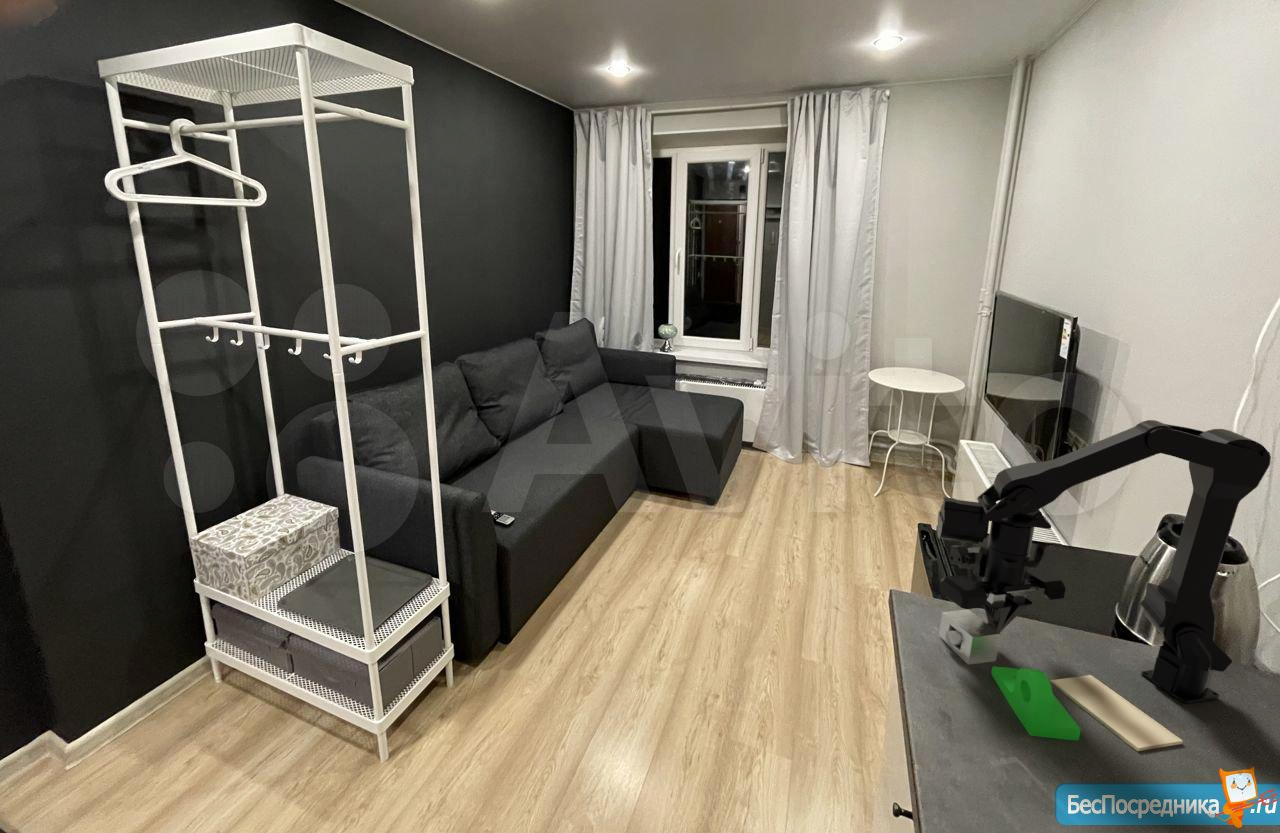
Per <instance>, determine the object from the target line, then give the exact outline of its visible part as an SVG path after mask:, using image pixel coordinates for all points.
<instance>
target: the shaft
mask: <svg viewBox="0 0 1280 833" xmlns="http://www.w3.org/2000/svg"><path fill="white" fill-rule="evenodd" d="M985 622H986V623H987V624H988V625H990V626H991V627H992V628H994V627H993V626H992V625H991V624H990V623H988V621H985ZM962 637H963V635H962V634H961V633H960V632H958V631H957V630H953V631H947V632H946V640H947V642H948V643H949V644H950V645H960V644H961V643H962Z"/></svg>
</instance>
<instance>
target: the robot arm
mask: <svg viewBox="0 0 1280 833" xmlns="http://www.w3.org/2000/svg"><path fill="white" fill-rule="evenodd" d="M1159 454H1162V455H1166V456H1171V457H1175V458H1178V459H1180V460H1181V459H1182V460H1184V461H1188V469H1189V470H1188V471H1189V473H1190V474H1189V475H1190V479H1191V483H1192V493H1191V497H1190V500H1189V505H1188V508H1187V511H1186V515H1185V518H1184V522H1183V525H1182V529H1181V533H1180V536H1179V539H1178V542H1177V547H1176V549H1175V553H1174V557H1173V560H1172V564H1171V567H1170V571H1169V573H1168V576H1167V578H1166V579H1165V580H1164V581H1162V582H1160V584H1155V583H1151V582H1147V583H1146V587H1145V596H1144V598H1143V599H1142V600H1141V602H1139V604H1140V606H1141V607H1142V608H1143V609H1144V611H1143V612H1144V615H1145V616H1146V619H1148V621H1149V623H1150V624H1151V625H1152V626H1153V627H1154V628H1155V631H1156V632H1157V634H1158V635H1159V636H1161V638H1162V639H1163V641H1162V644H1161V645H1160V646H1159V650H1158V653H1157V656H1156V657H1155V662H1154V665H1153V669H1149V670H1143V671H1141V673H1140V674H1141V676H1142V677H1143V678H1145V679H1147V680H1148V681H1149V682H1151V683H1153V684H1154V685H1156V686H1157V687H1159V688H1160V689H1162V690H1164V691H1165V692H1167V693H1168V694H1169V695H1171V696H1172V697H1174V698H1176V699H1177V700H1179V701H1180V702H1182V703H1184V704H1189V703H1190V704H1191V703H1198V702H1203V701H1208V700H1209V701H1211V700H1217V699H1220V693H1218V692H1216V691H1215V690H1213V689H1211V688H1209V686H1210V685H1209V684H1210V682H1211V679H1212V674H1213V672H1214V671H1216V672H1221V673H1223V672H1225V670H1226V669H1227V668H1228V667H1229V666H1230V665H1231V664H1232V663H1233V659H1232V658H1230V656H1229V655H1228V654H1227V653H1226V652H1224V650H1223V649H1222V648H1221V647H1220V646H1219V645H1218V644H1217V643H1216V641H1215V636H1216V635H1215V634H1216V619H1217V618H1216V615H1215V614H1216V613H1215V609H1214V604H1213V599H1212V590H1213V587H1214V585H1215V584H1214V583H1215V580H1216V578H1217V575H1218V574H1217V573H1218V571H1219V568H1220V565H1221V561H1222V559H1223V554H1224V552H1225V550H1226V545H1227V542H1228V539H1229V535H1230V532H1231V529H1232V526H1233V523H1234V519H1235V516H1236V513H1237V511H1238V507H1239V504H1240V502H1241V501H1242V500H1243V499H1244V498H1245V497H1247V496H1248V495H1249V494H1250V493H1252V492H1253V491H1254V490H1255V489H1257V487H1258V486H1259V485H1260V483H1261V481H1262V479H1263V478H1264V476H1265V475H1266V472H1267V471H1268V469H1269V468H1270V466H1271V462H1272V461H1271V459H1272V456H1271V453H1270V452H1269V451H1268V450H1267V448H1266V447H1264V445H1263V444H1261V443H1259V442H1257V441H1255V440H1253V439H1251V438H1248V437H1246V436H1244V435H1242V434H1239V433H1237V432H1235V431H1231V430H1228V429H1223V428H1212V429H1209V430H1205V431H1203V430H1200V429H1195V428H1191V427H1186V426H1180V425H1174V424H1167V423H1164V422H1162V421H1158V420H1155V419H1154V420H1153V419H1148V420H1143V421H1140V422H1139V423H1137V424H1136V425H1134V426H1132V427H1130V428H1127V429H1125V430H1123V431H1121V432H1117V433H1115V434H1113V435H1110V436H1109V437H1106V438H1104V439H1101V440H1099V441H1096V442H1093V443H1090V444H1089V445H1086V446H1083V447H1082V448H1078V449H1076V450H1074V451H1071V452H1069V453H1066V454H1064V455H1061V456H1059V457H1056V458H1054V459H1050V460H1045V461H1039V462H1038V461H1036V462H1027V463H1023V464H1019V465H1015V466H1012V467H1008V468H1004V469H1003V470H1001V471H999V472H998V473H997V474H996V475H995V479H994V481H993V484H992V485H991V486H989V487H988V488H987V489H985V490H984V491H983V492H982V493H981V494H979V495H978V496H977V497H976V499H977V501H968V500H960V499H956V498H953V497H944V498H943V499H942V500H943V501H942V504H941V506H940V510H939V511H938V514H937V523H936V524H937V526H936V528H937V530H936V531H937V538H938V539H941V540H949V541H955V542H962V543H969V544H974V545H975V544H977V545H979V543H983V542H984V540H985V539H987V537H988V541H987V545H980V547H975V546H974V547H967V546H966V545H961V544H958V545H957V544H955V545H951V547H950V551H949V561H950V562H951V564H952V565H957V566H958V568H959V569H969V570H973V571H972V574H973V575H975V576H977V577H978V578H982V580H981V581H973V579H971V578H970V577H968V576H967V575H965V574H959V575H958V574H957V575H948V576H944V577H942V578H941V580H940V584H939V592H941V593H942V594H943V595H944V596H946V597H947V598H948V599H949V600H951V601H952V602H953V603H954V604H956V605H957V606H958V607H960V608H961V609H963V610H967V609H969V610H971V609H972V610H973V609H981V608H984V611H985V616H986V619H987V623H990V624H991V625H992V626H993V627H994V629H995V630H996V631H998V632H999V633H1000V634H1001V632H1002V631H1004V629H1005V628H1006V627H1007V626H1009V624H1010V623H1011V622H1012V621H1013V620H1014V619H1016V617H1018V616H1019V615H1020V614H1021V613H1022V612H1024V611H1025V610H1026V609H1028V608H1029V607H1031V606H1033V601H1031V600H1030V599H1028V598H1027V593H1026V592H1031V591H1039V590H1040V589H1043V590H1044V591H1043V595H1044V596H1045V598H1046V599H1048V600H1050V601H1052V600H1054V601H1055V600H1061V599H1065V595H1066V594H1065V593H1066V586H1065V584H1064V582H1063V580H1062V579H1060V578H1059V577H1057V576H1055V575H1054V574H1052V573H1050V572H1049V571H1047V570H1045V569H1043V568H1042V567H1039V566H1036V565H1035V564H1036V559H1034V558H1032V557H1031V555H1030V554H1031V550H1032V549H1031V548H1032V544H1033V543H1032V542H1033V537H1034V531H1035V528H1038V529H1040V528H1041V529H1045V530H1046V529H1047V530H1049V529H1052V524H1051V522H1049V520H1048V519H1047V517H1046V516H1045V515H1044V514H1043V512H1042V511H1041V510H1040V509H1043V508H1044V507H1046V506H1048V505H1049V504H1052V503H1053V502H1055V500H1057V499H1058V498H1059V497H1060V496H1061V495H1063V493H1065V491H1067V490H1069V489H1071V488H1073V487H1075V486H1077V485H1081V484H1082V483H1085V482H1089V481H1090V480H1093V479H1095V478H1098V477H1101V476H1104V475H1106V474H1108V473H1111V472H1114V471H1116V470H1119V469H1122V468H1125V467H1127V466H1130V465H1132V464H1135V463H1137V462H1140V461H1142V460H1145V459H1148V458H1151V457H1154V456H1156V455H1159ZM990 523H991V524H990ZM989 525H990V529H989ZM988 533H989V535H988ZM1035 566H1036V567H1035Z"/></svg>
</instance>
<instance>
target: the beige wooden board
mask: <svg viewBox="0 0 1280 833" xmlns="http://www.w3.org/2000/svg"><path fill="white" fill-rule="evenodd" d="M1051 683H1052V684H1053V685H1054V686H1055V687H1056V688H1057V689H1058V690H1060V691H1061V692H1062V693H1063V694H1064V695H1065V696H1066V697H1068V698H1069V699H1070V700H1071V701H1073V702H1074V703H1075V704H1076V705H1077V706H1079V707H1080V708H1082V709H1083V711H1085V712H1086V713H1088V714H1089V715H1090V716H1091V717H1092V718H1094V719H1095V720H1096V721H1098V722H1099V723H1101V724H1102V725H1103V726H1104V727H1105V728H1107V729H1108V730H1109V731H1111V732H1112V733H1113V734H1115V735H1116V736H1117V737H1118V738H1120V739H1121V740H1122V741H1123V742H1125V743H1126V744H1127V745H1128V746H1130V747H1131V748H1132V749H1134V750H1135V751H1137V752H1141V751H1147V750H1152V749H1153V750H1155V749H1160V748H1166V747H1171V746H1178V745H1182V744H1183V742H1184V740H1183V739H1181V738H1180V737H1179V736H1177V735H1176V734H1174V733H1173V732H1172V731H1170V730H1168V729H1167V728H1165V727H1164V726H1163V725H1162V724H1160V723H1159V722H1157V721H1156V720H1155V719H1154V718H1152V717H1150V716H1149V715H1148V714H1146V713H1145V712H1143V711H1142V710H1140V709H1139V708H1138V707H1136V706H1135V705H1133V704H1132V703H1131V702H1129V701H1128V700H1126V699H1125V698H1124V697H1122V696H1121V695H1120V694H1119V693H1116V692H1115V691H1114V690H1112V688H1110V687H1108V686H1107V685H1105V683H1102V681H1100V680H1099V679H1098V678H1096V677H1094V676H1093V675H1091V674H1087V675H1081V676H1080V675H1079V676H1074V677H1073V676H1071V677H1065V678H1059V679H1051V680H1050V684H1051Z"/></svg>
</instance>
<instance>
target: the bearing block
mask: <svg viewBox="0 0 1280 833" xmlns="http://www.w3.org/2000/svg"><path fill="white" fill-rule="evenodd" d="M986 622H987V621H984V620H983V619H982V618H980V617H979V616H978V615H977V614H976V613H974V612H972V611H971V609H959V610H958V609H957V610H951V611H942V612H941V618H940V624H939V625H940V626H939V632H938V637H939V639H941V640H942V641H943V642H944V643H945V644H947V645H948V647H949V648H950V649H951V650H952V651H953V652H955V654H957V656H959V657H960V658H961V659H962V661H964V662H965V664H967V665H975V664H976V665H977V664H984V663H985V664H986V663H990V662H991V663H992V662H993V663H994V662H996V661H997V656H998V652H999V646H1000V639H1001V632H1000V633H999V632H998V631H996V630H995V629H994V628H992V627H991V626H990V625H988V624H987V623H988V622H987V623H986ZM953 630H957V631H958V632H960V633H961V634H962V635H963V637H962V643H961V644H960V645H950V644H949V643H948V642H947V640H946V632H947V631H953Z"/></svg>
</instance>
